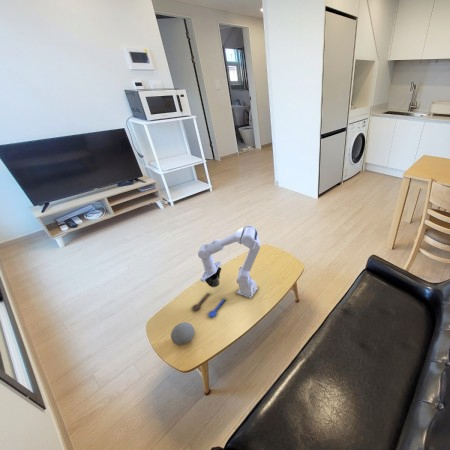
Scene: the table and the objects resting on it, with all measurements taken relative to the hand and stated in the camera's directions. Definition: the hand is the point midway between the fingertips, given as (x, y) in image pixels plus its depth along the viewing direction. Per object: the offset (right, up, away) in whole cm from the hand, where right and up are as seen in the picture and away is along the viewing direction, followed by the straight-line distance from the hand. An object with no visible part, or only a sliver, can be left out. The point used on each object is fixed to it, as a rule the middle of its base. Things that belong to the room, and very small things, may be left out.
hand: (214, 281), depth 135 cm
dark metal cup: (0, -1, +1) cm, 1 cm away
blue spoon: (+3, -14, -5) cm, 15 cm away
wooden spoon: (-7, -11, -2) cm, 13 cm away
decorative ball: (-7, -24, -20) cm, 31 cm away
